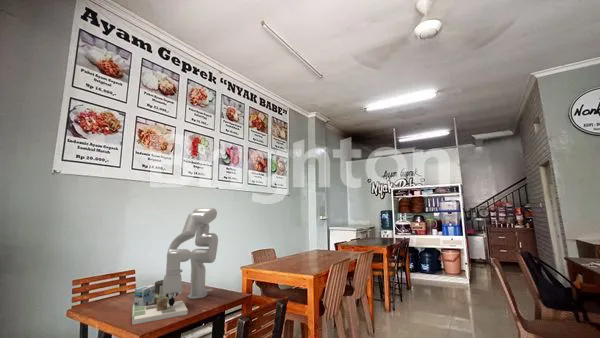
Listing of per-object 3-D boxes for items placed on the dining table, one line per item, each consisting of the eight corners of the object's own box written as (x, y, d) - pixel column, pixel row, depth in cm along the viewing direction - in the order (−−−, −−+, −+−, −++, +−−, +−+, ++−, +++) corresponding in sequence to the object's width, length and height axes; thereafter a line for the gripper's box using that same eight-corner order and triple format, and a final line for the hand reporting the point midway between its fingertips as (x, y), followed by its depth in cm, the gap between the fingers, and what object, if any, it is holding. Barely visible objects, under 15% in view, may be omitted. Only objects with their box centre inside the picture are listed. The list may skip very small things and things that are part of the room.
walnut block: (166, 306, 165) (166, 297, 166) (167, 309, 161) (167, 300, 161) (156, 308, 162) (157, 299, 163) (157, 311, 158) (157, 301, 159)
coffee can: (150, 307, 171) (151, 283, 173) (159, 302, 181) (160, 279, 183) (166, 307, 171) (168, 283, 173) (174, 302, 181) (175, 279, 183)
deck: (182, 304, 176) (182, 297, 177) (187, 314, 159) (187, 306, 160) (132, 313, 163) (132, 304, 163) (132, 324, 146) (132, 315, 146)
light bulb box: (142, 308, 171) (143, 289, 173) (133, 307, 172) (134, 289, 174) (154, 302, 181) (155, 284, 183) (145, 301, 183) (146, 284, 184)
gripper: (185, 270, 174) (184, 301, 171) (158, 273, 166) (156, 306, 164) (187, 272, 168) (186, 304, 165) (159, 275, 160) (157, 309, 157)
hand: (171, 305), depth 164 cm, fingers closed
